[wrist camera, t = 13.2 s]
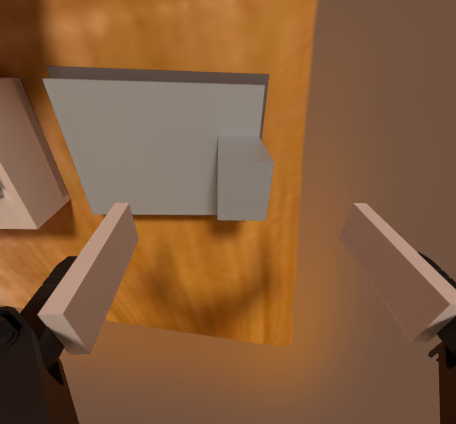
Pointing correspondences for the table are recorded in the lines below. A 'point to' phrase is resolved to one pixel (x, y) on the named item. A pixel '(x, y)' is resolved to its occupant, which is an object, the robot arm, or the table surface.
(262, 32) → the table surface
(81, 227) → the table surface
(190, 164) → the lid
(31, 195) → the tub
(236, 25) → the table surface
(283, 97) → the table surface
